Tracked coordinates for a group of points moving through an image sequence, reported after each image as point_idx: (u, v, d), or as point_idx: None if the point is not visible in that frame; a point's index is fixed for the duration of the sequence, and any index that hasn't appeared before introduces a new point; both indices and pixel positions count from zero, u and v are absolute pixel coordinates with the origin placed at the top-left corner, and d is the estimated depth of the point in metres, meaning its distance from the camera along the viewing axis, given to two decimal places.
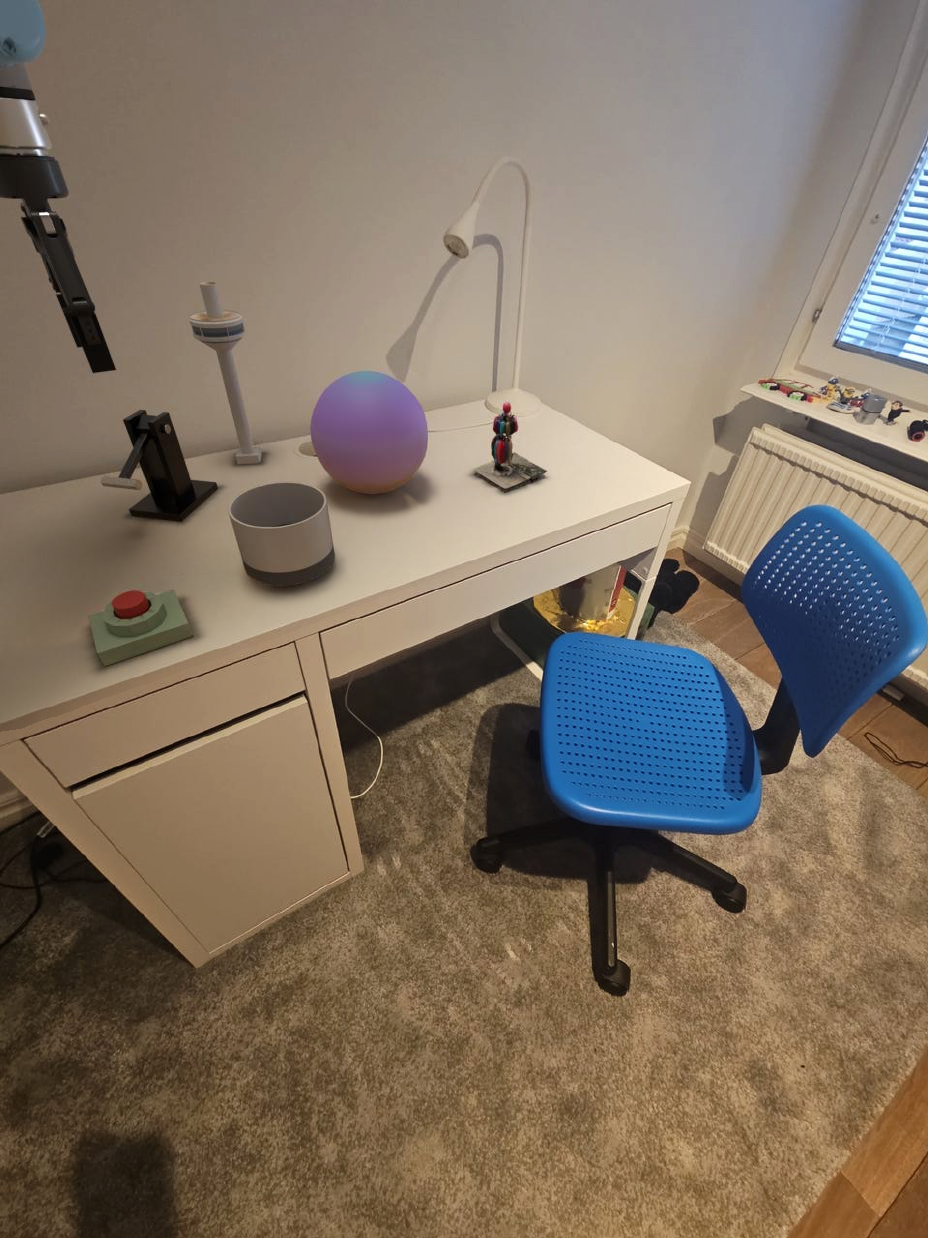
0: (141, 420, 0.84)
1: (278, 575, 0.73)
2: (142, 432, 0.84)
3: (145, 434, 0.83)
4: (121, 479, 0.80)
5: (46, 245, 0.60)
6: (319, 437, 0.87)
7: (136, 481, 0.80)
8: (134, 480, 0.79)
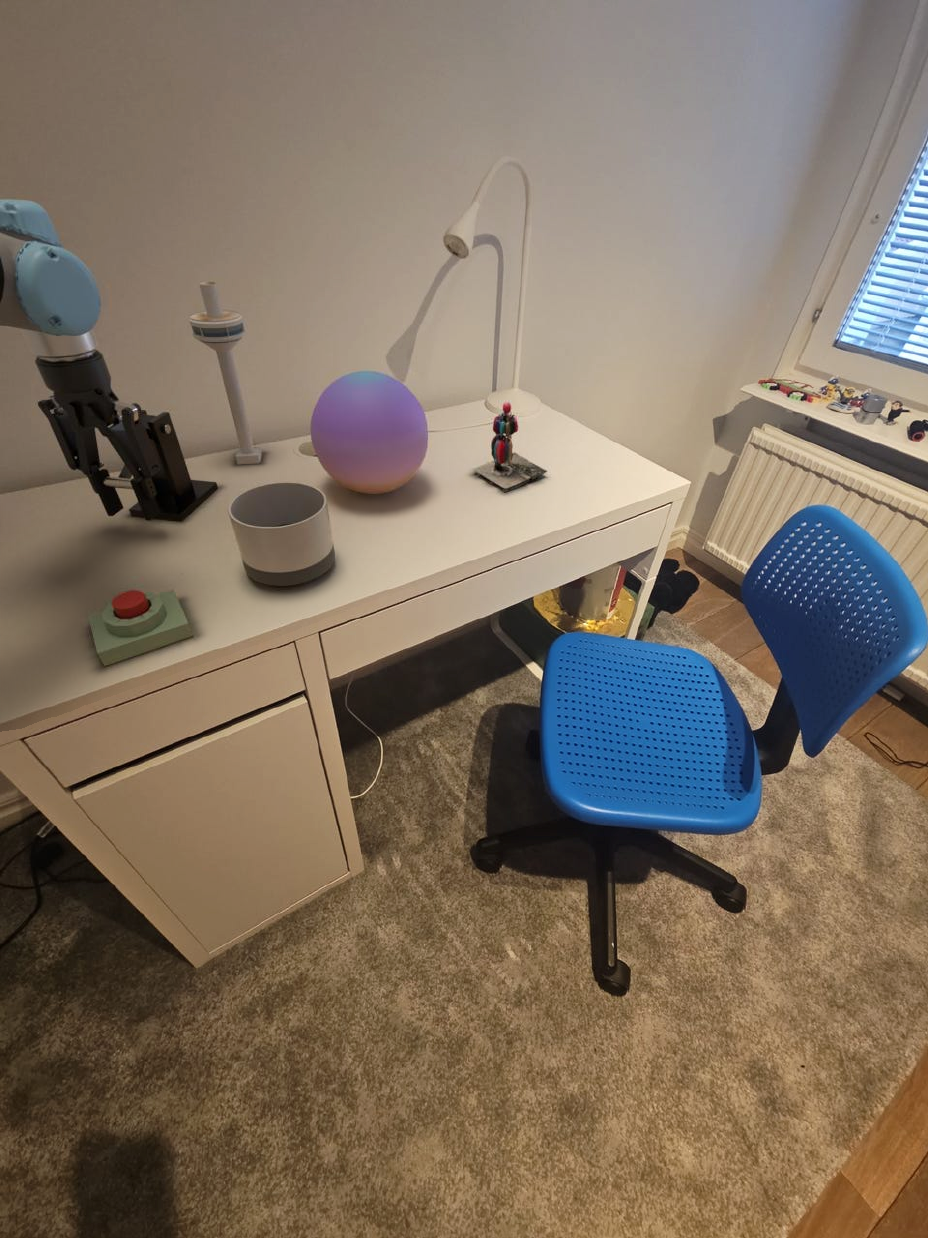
0: None
1: (278, 575, 0.73)
2: None
3: None
4: (121, 479, 0.80)
5: (134, 432, 0.73)
6: (319, 437, 0.87)
7: None
8: None
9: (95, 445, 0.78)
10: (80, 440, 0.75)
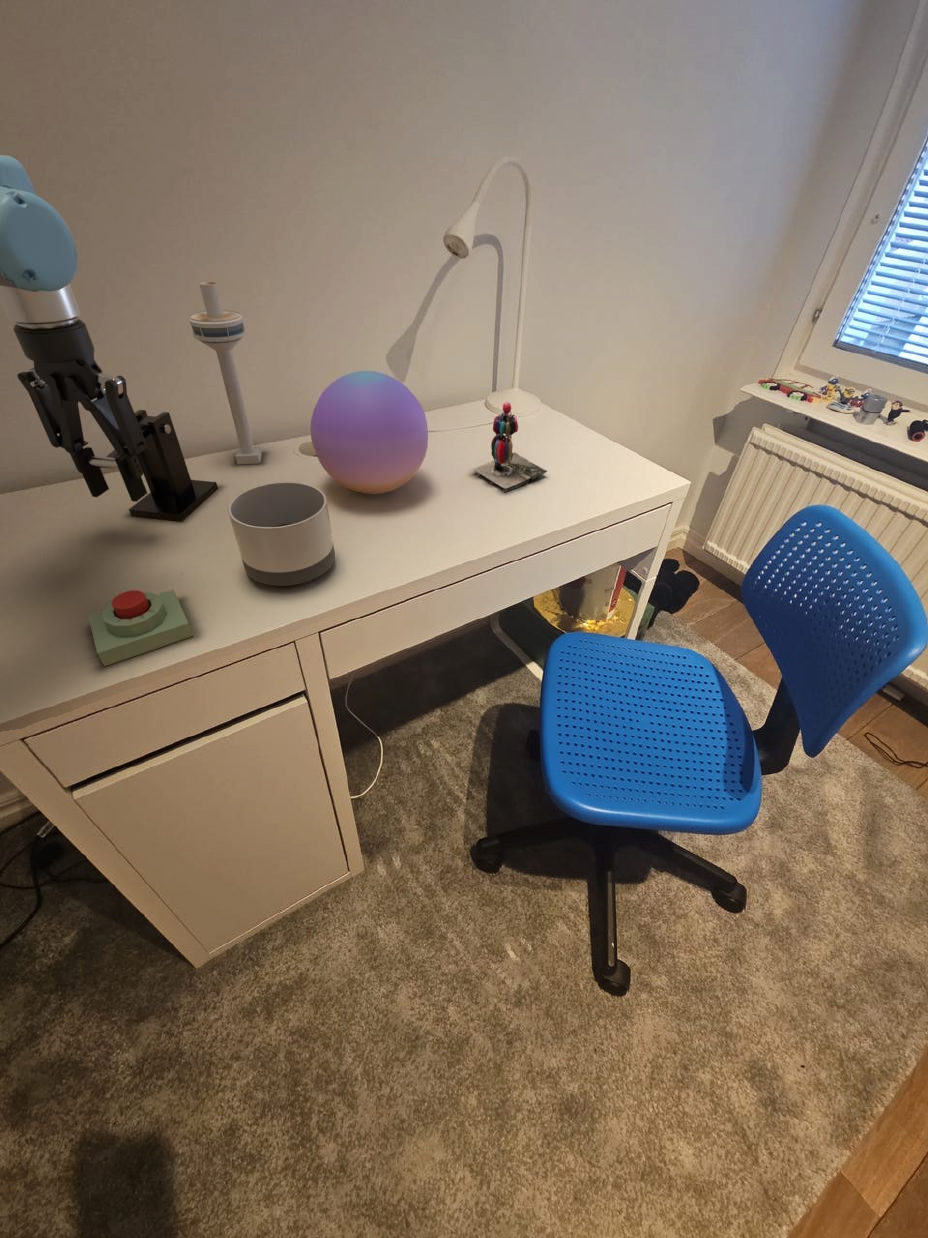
0: (142, 419, 0.84)
1: (278, 575, 0.73)
2: (141, 428, 0.83)
3: (143, 430, 0.83)
4: (108, 458, 0.77)
5: (119, 406, 0.70)
6: (319, 437, 0.87)
7: None
8: None
9: (79, 421, 0.75)
10: (62, 415, 0.72)
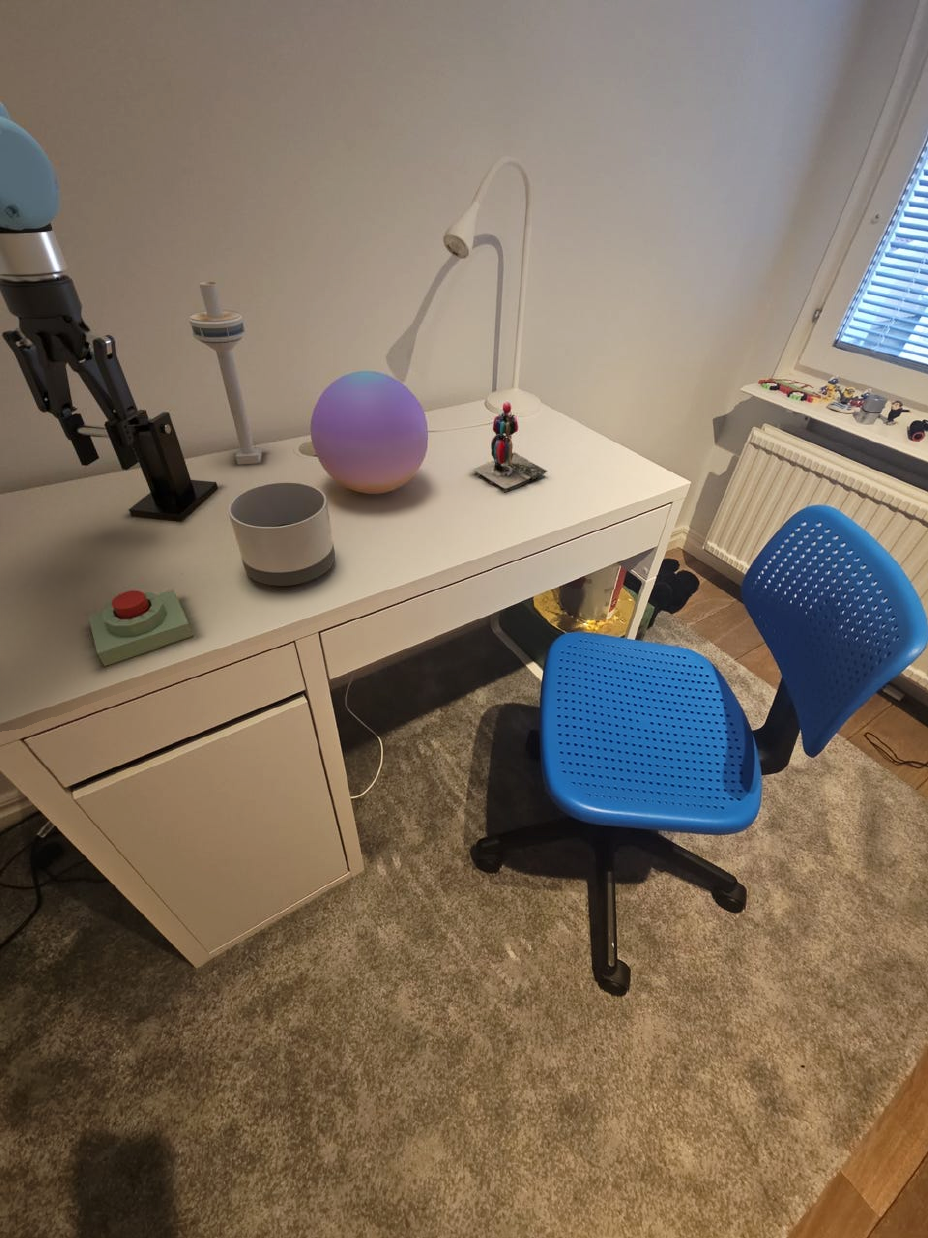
0: None
1: (278, 575, 0.73)
2: (140, 424, 0.83)
3: (143, 424, 0.83)
4: (99, 426, 0.74)
5: (107, 366, 0.67)
6: (319, 437, 0.87)
7: None
8: None
9: (67, 385, 0.72)
10: (49, 377, 0.69)
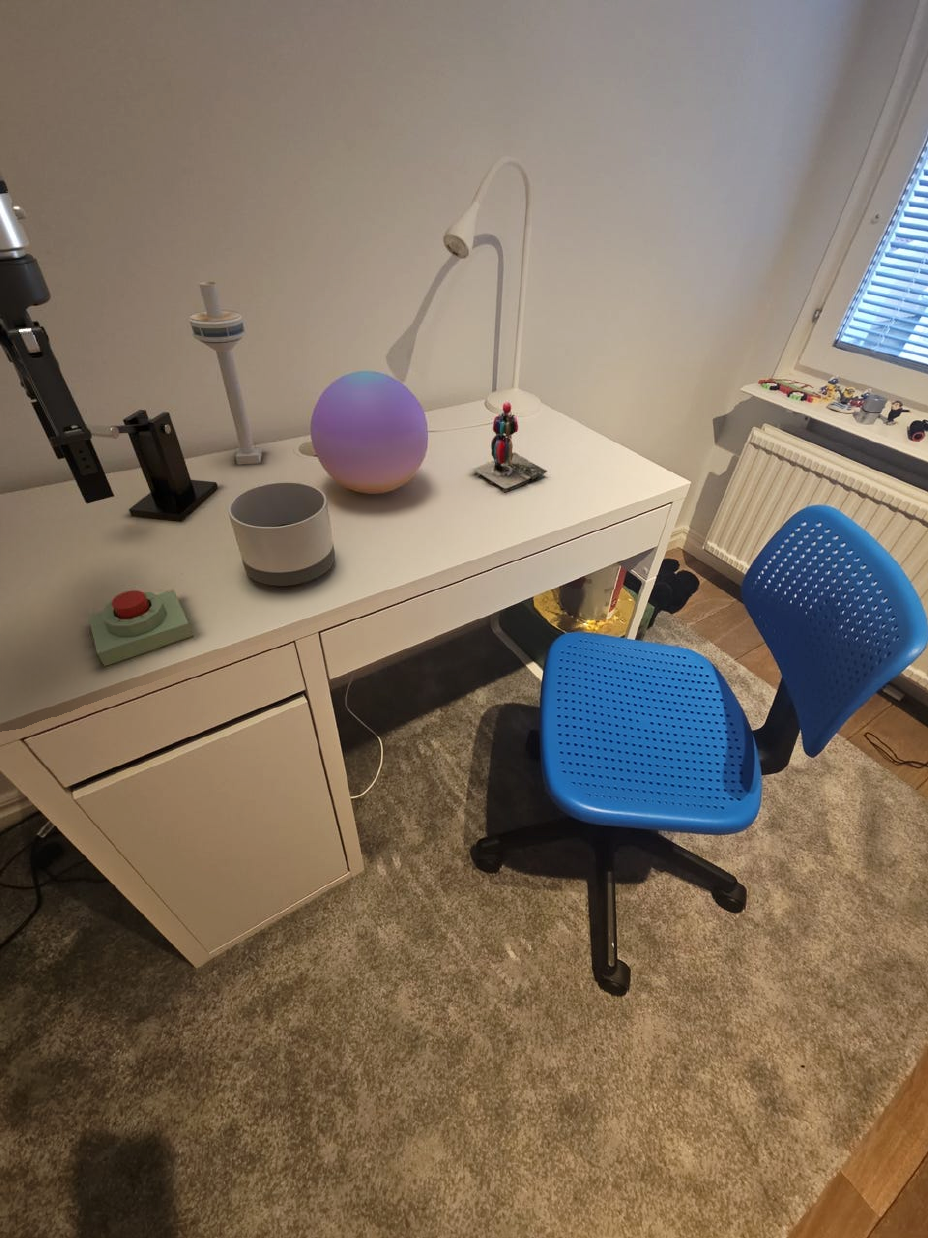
0: None
1: (278, 575, 0.73)
2: (140, 424, 0.83)
3: (143, 424, 0.83)
4: (99, 425, 0.74)
5: (28, 367, 0.48)
6: (319, 437, 0.87)
7: (115, 427, 0.74)
8: (113, 426, 0.74)
9: None
10: None
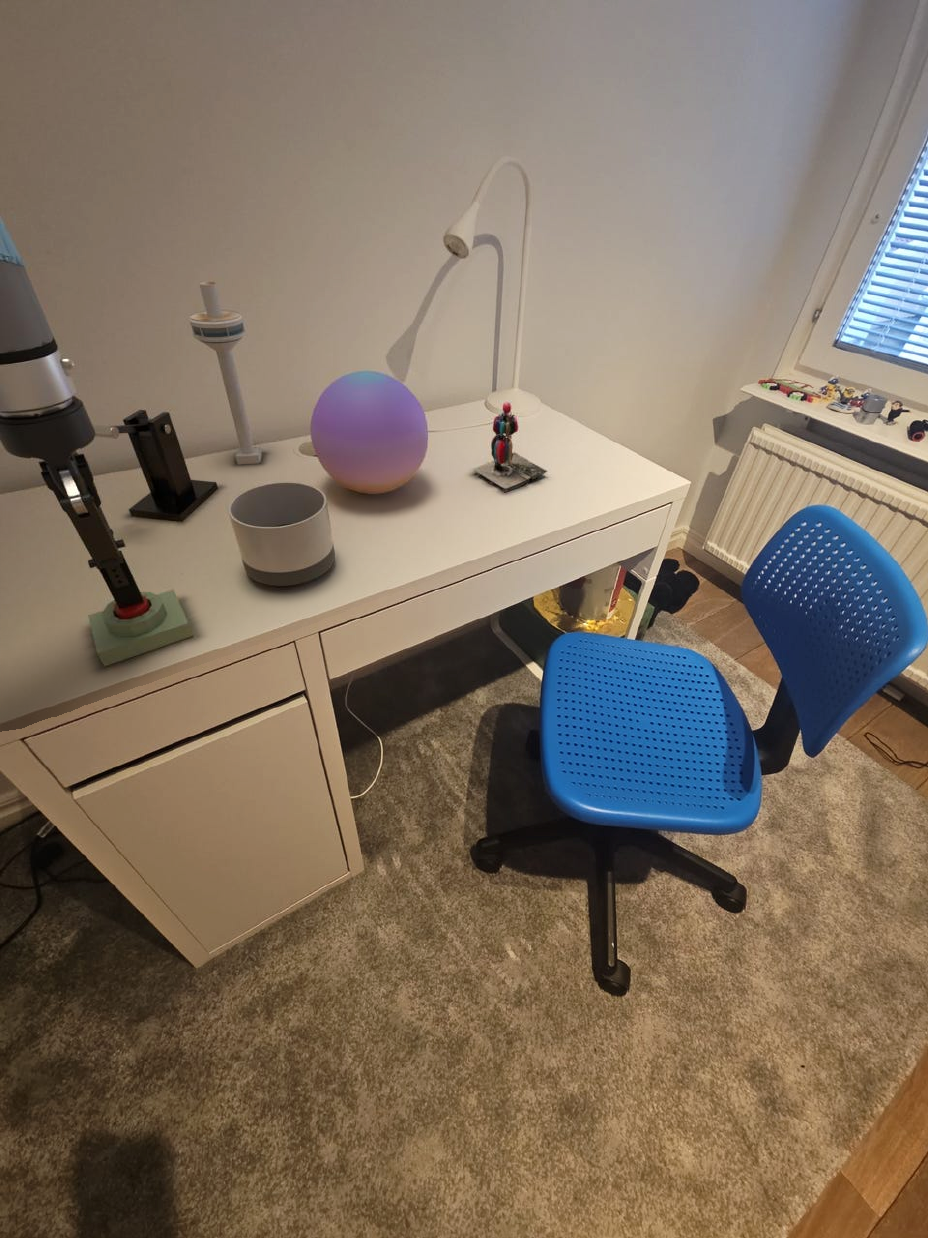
0: None
1: (278, 575, 0.73)
2: (140, 424, 0.83)
3: (143, 424, 0.83)
4: (99, 425, 0.74)
5: (76, 525, 0.53)
6: (319, 437, 0.87)
7: (115, 427, 0.74)
8: (113, 426, 0.74)
9: None
10: None
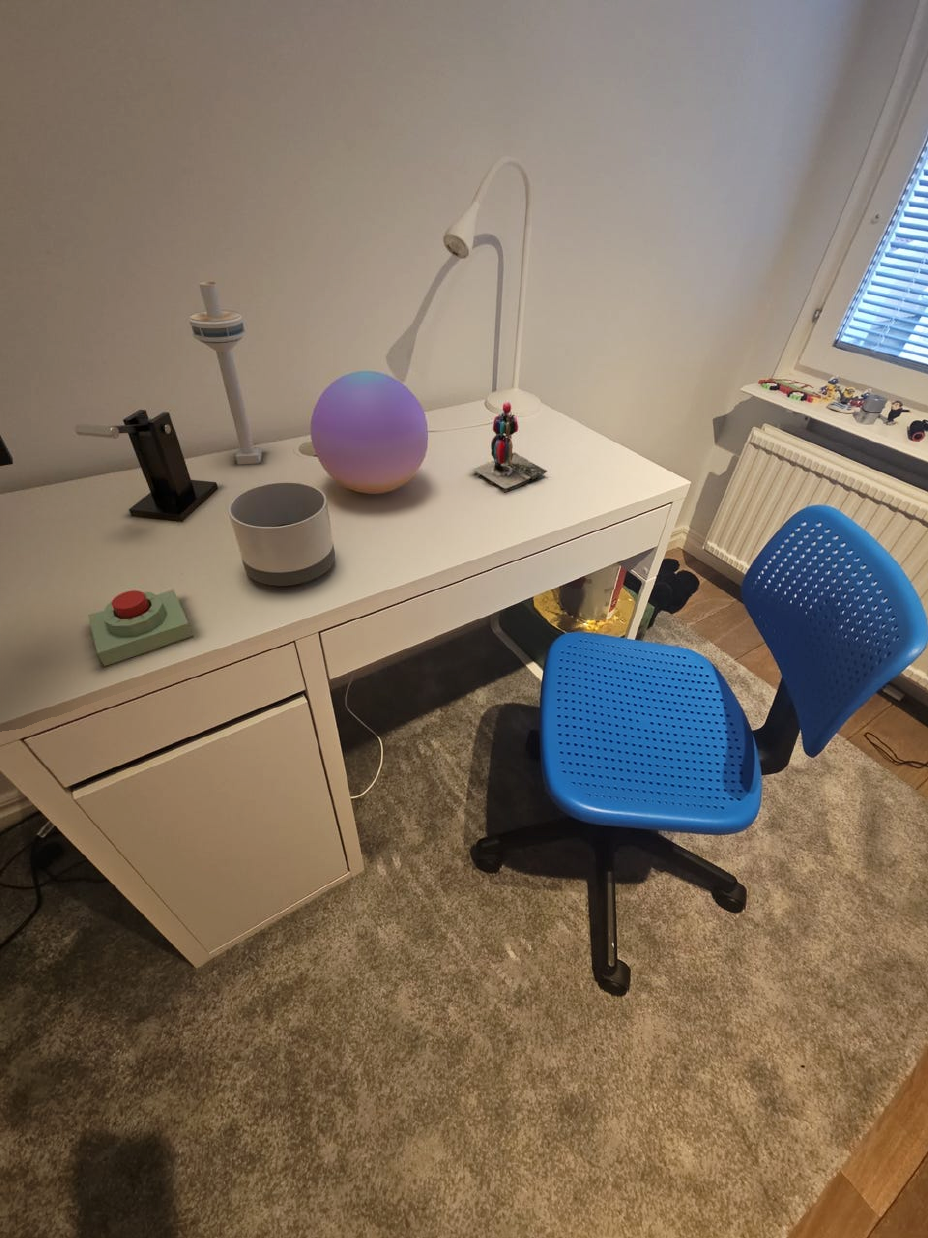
0: None
1: (278, 575, 0.73)
2: (140, 424, 0.83)
3: (143, 424, 0.83)
4: (99, 425, 0.74)
5: None
6: (319, 437, 0.87)
7: (115, 427, 0.74)
8: (113, 426, 0.74)
9: None
10: None
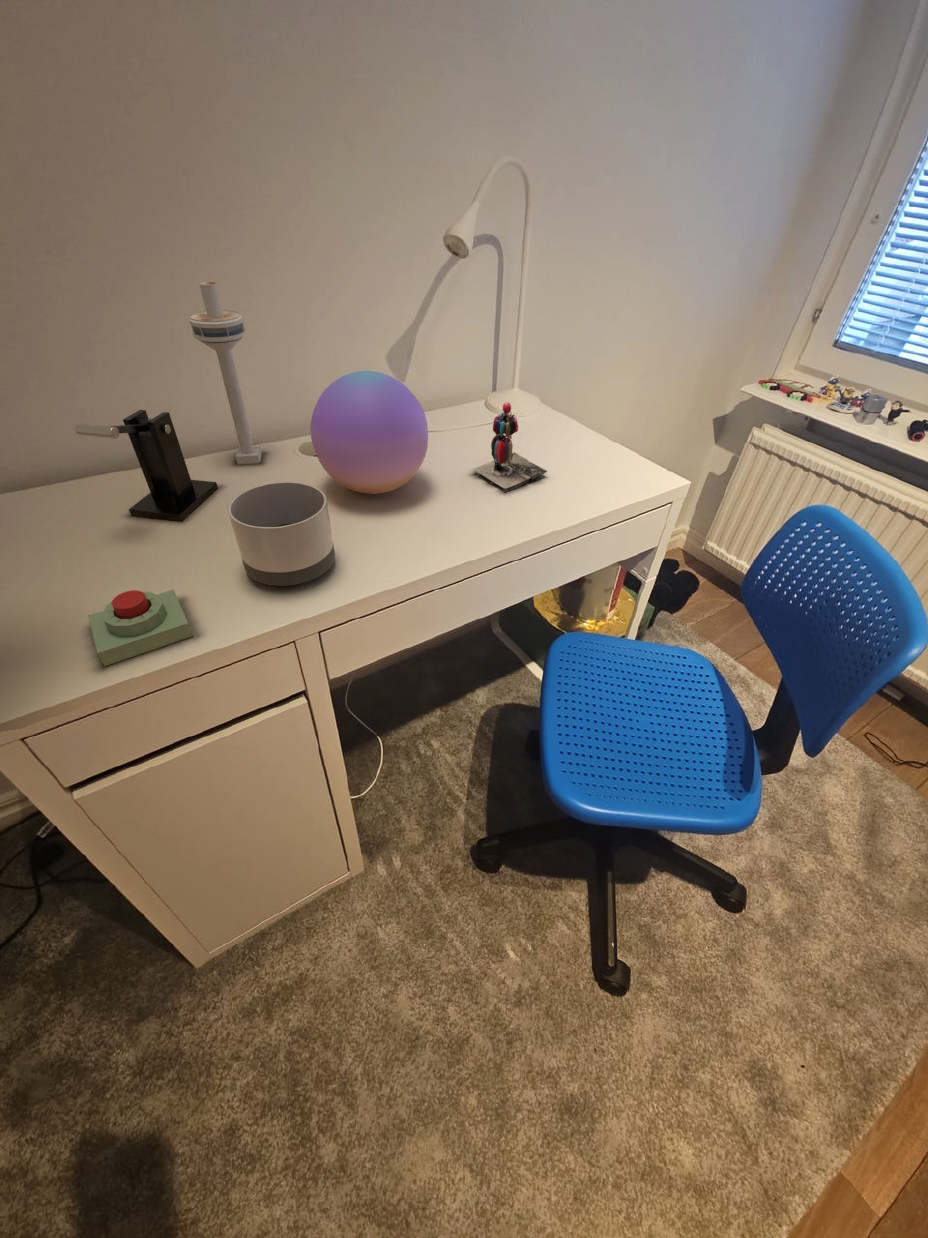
0: None
1: (278, 575, 0.73)
2: (140, 424, 0.83)
3: (143, 424, 0.83)
4: (99, 425, 0.74)
5: None
6: (319, 437, 0.87)
7: (115, 427, 0.74)
8: (113, 426, 0.74)
9: None
10: None
